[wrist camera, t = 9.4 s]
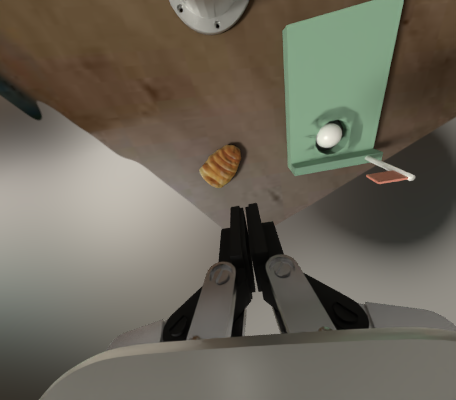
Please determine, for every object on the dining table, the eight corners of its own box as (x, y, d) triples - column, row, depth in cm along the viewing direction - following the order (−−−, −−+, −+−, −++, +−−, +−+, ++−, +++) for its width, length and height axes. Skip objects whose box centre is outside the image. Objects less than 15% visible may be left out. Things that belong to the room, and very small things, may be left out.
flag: (330, 152, 36) (379, 180, 24) (353, 148, 35) (416, 174, 23) (329, 156, 36) (378, 186, 24) (352, 151, 35) (414, 180, 23)
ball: (318, 154, 34) (316, 136, 35) (344, 148, 32) (341, 128, 33) (314, 143, 31) (312, 123, 32) (343, 135, 28) (339, 114, 30)
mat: (282, 31, 26) (292, 18, 22) (390, 0, 25) (424, -21, 20) (288, 166, 37) (295, 175, 33) (363, 152, 35) (381, 160, 31)
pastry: (223, 135, 35) (222, 139, 31) (249, 155, 37) (250, 161, 33) (198, 170, 39) (195, 177, 35) (222, 187, 41) (221, 195, 37)
